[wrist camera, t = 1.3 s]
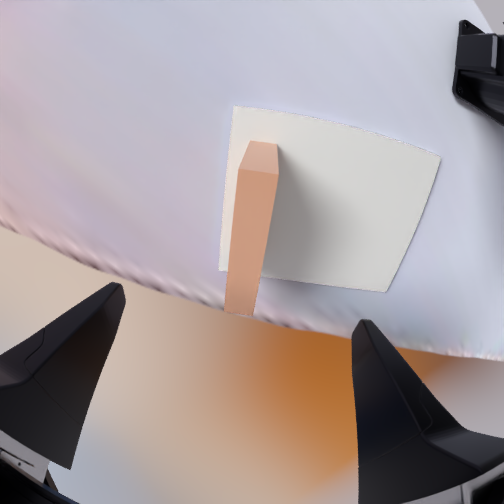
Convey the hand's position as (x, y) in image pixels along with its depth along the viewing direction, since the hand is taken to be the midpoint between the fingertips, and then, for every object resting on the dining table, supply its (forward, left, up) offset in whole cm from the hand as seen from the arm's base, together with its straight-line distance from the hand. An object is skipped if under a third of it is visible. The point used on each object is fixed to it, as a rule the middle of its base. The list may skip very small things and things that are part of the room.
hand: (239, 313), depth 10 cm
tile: (0, 0, -10) cm, 10 cm away
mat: (-5, 0, -10) cm, 11 cm away
